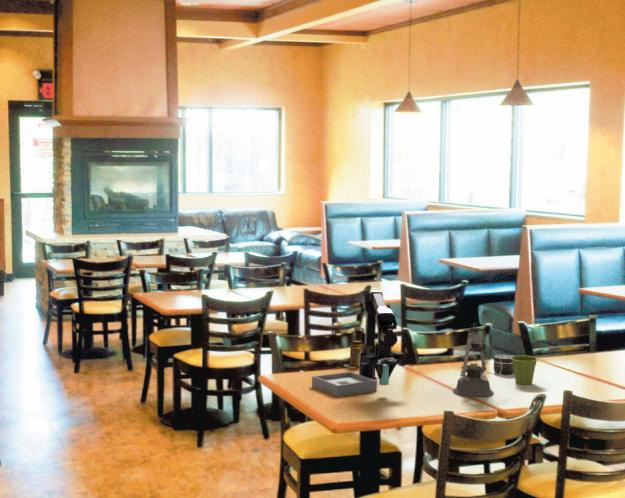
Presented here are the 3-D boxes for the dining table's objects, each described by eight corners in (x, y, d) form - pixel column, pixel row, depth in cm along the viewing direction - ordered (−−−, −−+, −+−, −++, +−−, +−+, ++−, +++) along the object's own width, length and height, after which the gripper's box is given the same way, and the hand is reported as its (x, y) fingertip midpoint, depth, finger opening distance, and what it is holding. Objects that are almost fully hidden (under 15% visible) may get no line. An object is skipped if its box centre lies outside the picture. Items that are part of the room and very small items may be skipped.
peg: (385, 382, 411) (385, 363, 410) (390, 384, 407) (390, 365, 407) (377, 383, 409) (377, 364, 408) (382, 385, 405) (383, 366, 405)
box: (350, 381, 433) (350, 371, 433) (376, 390, 416) (376, 380, 416) (312, 386, 423) (312, 376, 422) (337, 396, 406) (337, 385, 406)
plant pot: (510, 379, 441) (510, 354, 440) (536, 380, 439) (537, 356, 438) (509, 385, 430) (510, 360, 428) (537, 386, 427) (538, 361, 426)
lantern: (496, 400, 403) (498, 328, 400) (448, 395, 410) (450, 325, 407) (503, 390, 419) (505, 321, 417) (457, 386, 426) (459, 318, 424)
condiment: (366, 366, 465) (366, 341, 464) (351, 368, 461) (352, 343, 459) (357, 363, 471) (357, 339, 470) (343, 365, 467) (343, 340, 465)
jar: (518, 372, 456) (518, 356, 456) (510, 376, 448) (511, 359, 447) (498, 369, 462) (498, 353, 461) (490, 373, 453) (490, 357, 452)
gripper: (391, 336, 418) (390, 372, 420) (355, 340, 408) (354, 377, 410) (407, 340, 409) (406, 377, 410) (370, 344, 399) (370, 382, 400)
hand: (384, 378), depth 408 cm, fingers closed on peg, 4 cm apart
